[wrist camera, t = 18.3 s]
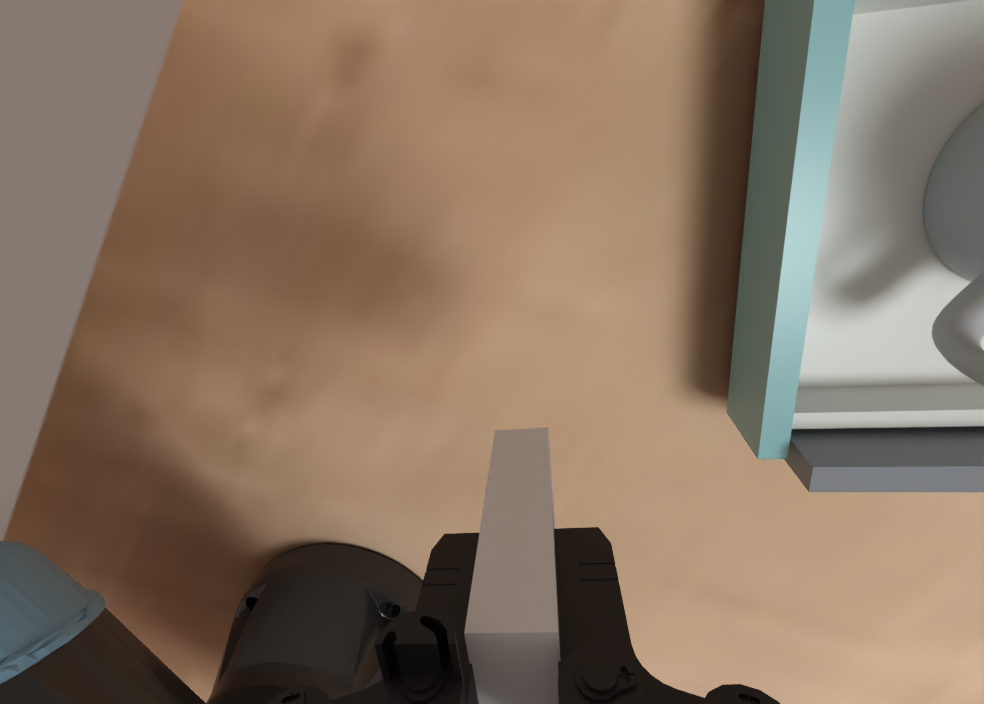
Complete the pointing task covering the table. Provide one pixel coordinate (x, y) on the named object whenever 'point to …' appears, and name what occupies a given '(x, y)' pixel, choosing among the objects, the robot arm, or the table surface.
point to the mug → (960, 243)
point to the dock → (889, 459)
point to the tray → (851, 219)
